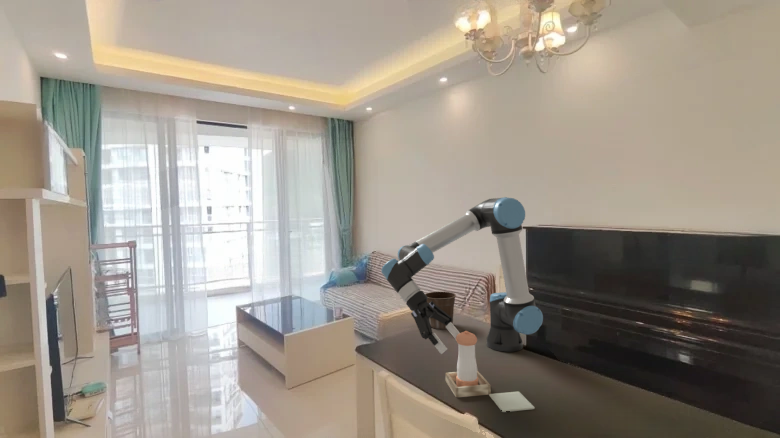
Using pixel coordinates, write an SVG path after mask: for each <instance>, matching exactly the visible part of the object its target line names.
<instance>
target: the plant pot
mask: <svg viewBox="0 0 780 438" xmlns="http://www.w3.org/2000/svg"><path fill="white" fill-rule="evenodd" d="M424 294H425V295H426V296H427V297H428V299H427V302H428V303H430V302H431V301H433V302H434V303H435V304H436V305H437V306H438V307H439V308H441V309H442V310H443V311H444V312H446V313H447V314H448V315H449V316H451V317H452V319H453V320H452V321H451V323H452V324H453V325H454V311H455V310H454V308H455V303H456V297H457V294H455V293H454V292H450V291H431V292H426V293H424ZM447 318H448V317H447ZM429 321H430V325H431V329H436V330H447V328H446V325H445V324H443V323H441V322H439V321H438V320H436V319H434V318H429Z"/></svg>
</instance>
